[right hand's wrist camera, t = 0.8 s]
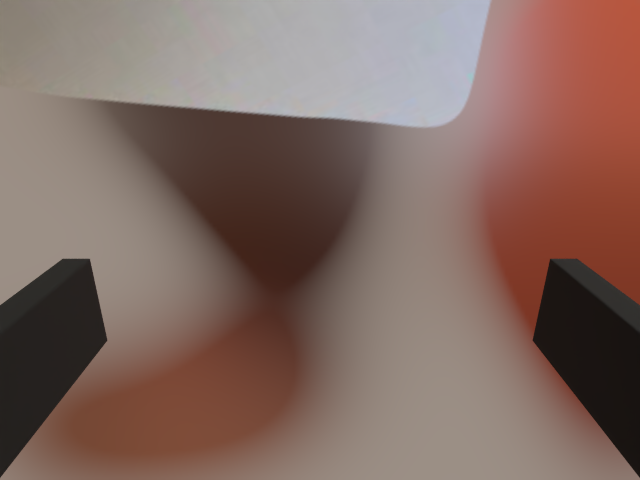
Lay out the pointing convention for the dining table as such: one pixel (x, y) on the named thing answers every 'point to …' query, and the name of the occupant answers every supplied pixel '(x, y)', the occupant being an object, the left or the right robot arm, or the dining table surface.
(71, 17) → the dining table surface
